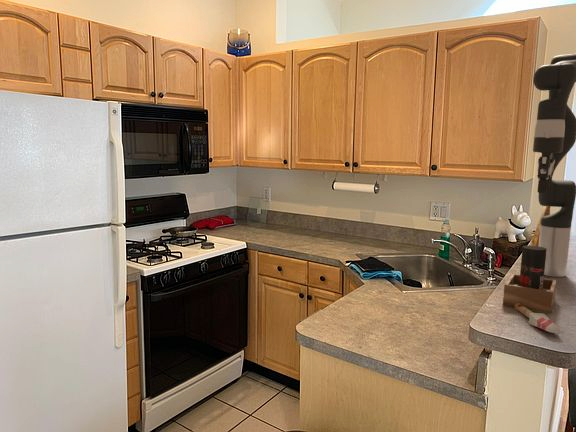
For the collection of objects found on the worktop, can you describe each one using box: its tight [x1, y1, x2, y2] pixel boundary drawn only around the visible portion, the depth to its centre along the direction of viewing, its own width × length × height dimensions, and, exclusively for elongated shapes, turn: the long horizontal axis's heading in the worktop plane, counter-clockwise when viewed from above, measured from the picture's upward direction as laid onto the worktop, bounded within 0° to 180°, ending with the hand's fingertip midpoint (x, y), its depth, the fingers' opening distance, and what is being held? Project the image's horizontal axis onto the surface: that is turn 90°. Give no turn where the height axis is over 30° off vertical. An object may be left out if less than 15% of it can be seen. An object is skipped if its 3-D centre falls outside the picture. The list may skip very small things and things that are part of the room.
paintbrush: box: [514, 303, 563, 334], centre depth 112 cm, size 4×3×20 cm
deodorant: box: [519, 245, 547, 290], centre depth 125 cm, size 6×6×15 cm
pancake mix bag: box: [530, 206, 551, 246], centre depth 179 cm, size 7×19×28 cm, turn 143°
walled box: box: [502, 273, 557, 315], centre depth 126 cm, size 14×12×6 cm
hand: (543, 191), depth 132 cm, fingers open, 8 cm apart
